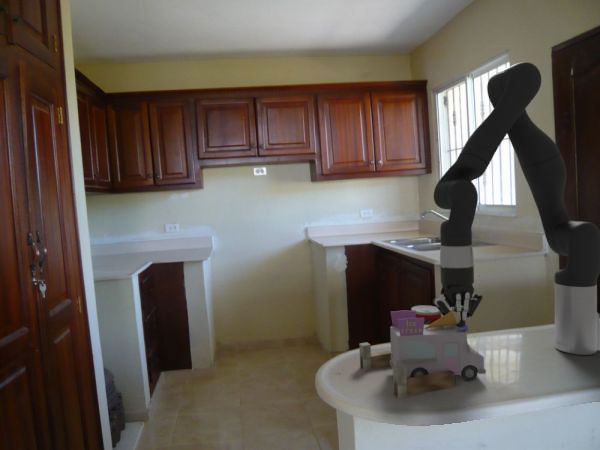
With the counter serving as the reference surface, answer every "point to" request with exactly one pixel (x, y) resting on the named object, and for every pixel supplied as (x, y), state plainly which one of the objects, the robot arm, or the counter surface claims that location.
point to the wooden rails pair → (400, 380)
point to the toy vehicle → (433, 346)
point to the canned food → (427, 313)
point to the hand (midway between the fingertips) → (458, 335)
